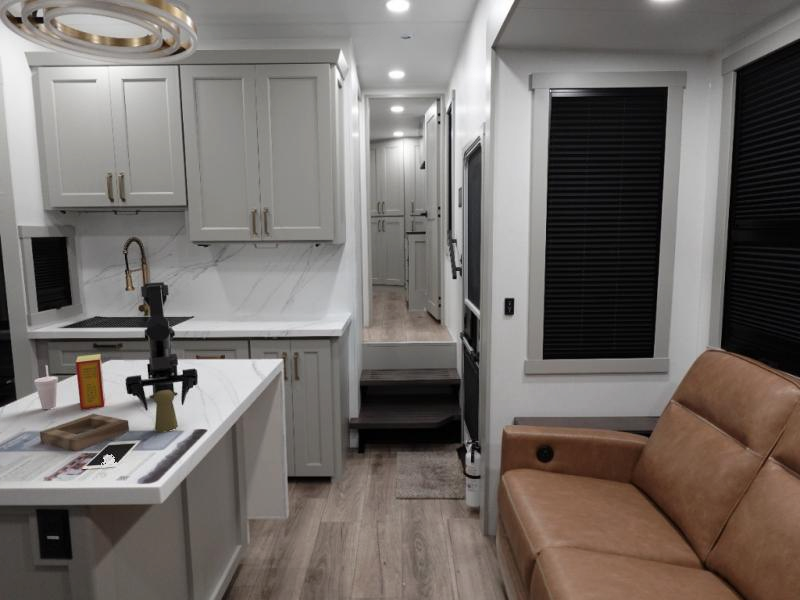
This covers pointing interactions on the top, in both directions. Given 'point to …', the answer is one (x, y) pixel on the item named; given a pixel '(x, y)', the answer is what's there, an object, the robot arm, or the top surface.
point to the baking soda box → (90, 381)
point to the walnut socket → (70, 440)
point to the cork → (165, 411)
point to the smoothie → (47, 390)
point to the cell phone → (115, 449)
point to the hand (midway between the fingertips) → (164, 407)
